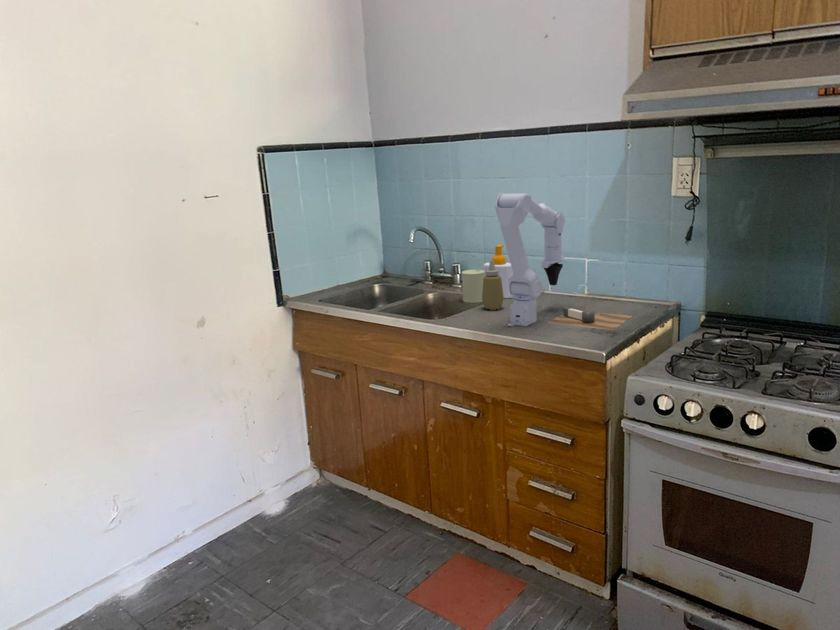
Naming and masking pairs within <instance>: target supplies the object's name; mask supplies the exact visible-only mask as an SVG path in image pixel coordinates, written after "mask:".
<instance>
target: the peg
mask: <svg viewBox="0 0 840 630" xmlns="http://www.w3.org/2000/svg"><path fill="white" fill-rule="evenodd" d="M562 311H563V312H562V314H563V315H565V316H569V317H573V318H577V319H581V320H582V322H585V323H592V322H594V321H595V311H594V310H584V311H583V310H579V309H575V308H571V307H567V306H566V307H563V308H562Z"/></svg>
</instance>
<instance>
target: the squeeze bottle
mask: <svg viewBox="0 0 840 630" xmlns="http://www.w3.org/2000/svg"><path fill="white" fill-rule="evenodd" d="M489 263H490V264H489V270H486V275H487V276H485V277H484V278H483V292H482V301H483V302H482V304H483V306H484V309H485V308H486V309H485V310H487V309H490V310H489V311H497V310H501V309H500V308H502V305H503V302H504V299H505V298H504V296H503V288H502V280H501V277H500V276H499V275H498V270H496V269H495V265H494V261H493V260H492V259H491V260H490V261H489ZM496 309H497V310H496Z"/></svg>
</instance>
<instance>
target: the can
mask: <svg viewBox="0 0 840 630" xmlns="http://www.w3.org/2000/svg"><path fill="white" fill-rule="evenodd" d="M484 277H485V271H484V269H467V270H463V271H461V280H462V302H464V303H467V304H468V303H469V304H477V303H478V304H479V303H483V301H482V292H483V278H484Z"/></svg>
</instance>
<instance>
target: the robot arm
mask: <svg viewBox="0 0 840 630" xmlns="http://www.w3.org/2000/svg"><path fill="white" fill-rule="evenodd" d="M494 209H495V212H496V216H497V219H498V222H499V224H500V230H501V233H502V238H503V240H504V244H505V245H504V246H505V248H506V251H507V254H508V255H507V256H508V259H509V263H511V267H512V270H513V272H512V273H511V274H510V276H509V277H508V282H509V286H508V288H509V292H510V294H511V295H512V298H511V299H514V300H513V302H512V303H511V305H510V307H509V323H508V324H507V326H508V327H514V326H525V327H527V326H529V325H531V324H535V323H537V321H538V320H537V299H538V298H539V297H540V295H541V293H542V291H543V289H542V288H543V284H542V282H541V280H540V279H539V276H538V274H537V273H536V272H535V271H533V270H532V269H531V268H530V266H529V263H528V258H527V255H526V251H525V250H526V249H525V247H524V243H523V238H522V234H521V232H520V227H519V226H520V225H522V224H523V223H524V222H525V219H526V218H527V215H528V214H529V213H530V214H531V216H532V218H533V220H535V221H536V222H539V223H540V225H541V226H540V227H541V228H543V229H544V230H543V231H544V259H543V261H542V262H541V268H542V269H543V270H544V271H545V273H546V274H545V275H546V276H547V280H548V285H549V286H557V285H558V280H559V276H560V274H561V273H560V272H561V271H562V269H563V267H564V265H563V262H565V255H562V233H563V232H564V226H565V222H566V219H565V215H564V213H562V212H561V211H556V210H554V208H553V207H549V206H548V204H547V203H546V202H541V203H537V202H536V201H535V200H533V198H532V195H531V194H529V193H526V192H523V193H505V192H504V193H503V192H501V193H500V194H498V195H497V197H496V200H495V204H494Z"/></svg>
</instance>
